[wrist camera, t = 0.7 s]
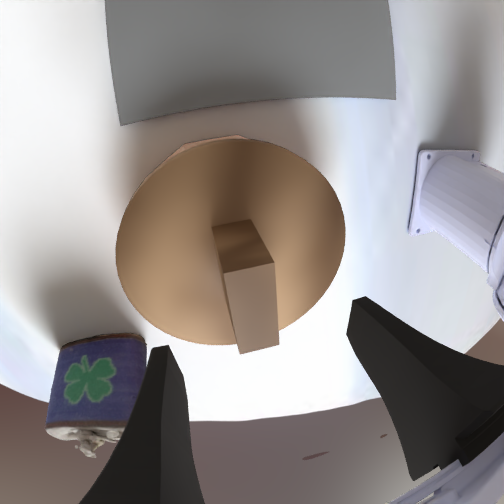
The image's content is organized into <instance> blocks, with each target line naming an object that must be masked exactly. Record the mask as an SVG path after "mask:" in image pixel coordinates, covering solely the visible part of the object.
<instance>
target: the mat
mask: <svg viewBox="0 0 504 504" xmlns="http://www.w3.org/2000/svg"><path fill="white" fill-rule="evenodd" d="M105 12H106V25H107V37H108V46H109V55H110V63H111V71H112V78H113V85H114V91H115V97H116V103H117V109H118V114H119V120H120V125H121V126H123V125H127V124H131V123H135V122H139V121H143V120H147V119H151V118H155V117H160V116H164V115H169V114H174V113H179V112H184V111H189V110H195V109H200V108H206V107H213V106H219V105H227V104H234V103H243V102H252V101H262V100H274V99H289V98H314V97H352V98H376V99H391V100H396V80H395V60H394V46H393V36H392V26H391V18H390V11H389V4H388V0H105Z"/></svg>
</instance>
